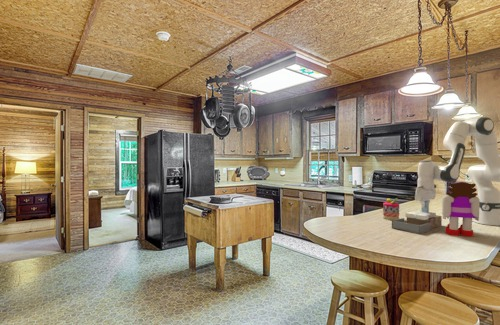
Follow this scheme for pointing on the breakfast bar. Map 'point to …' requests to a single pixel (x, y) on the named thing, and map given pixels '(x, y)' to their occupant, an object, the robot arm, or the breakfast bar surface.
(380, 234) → the breakfast bar surface
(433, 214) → the blue-knobbed white block
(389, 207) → the cake
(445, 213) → the toy
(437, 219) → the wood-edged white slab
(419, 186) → the robot arm
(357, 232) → the breakfast bar surface
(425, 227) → the tray
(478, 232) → the breakfast bar surface
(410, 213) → the tile
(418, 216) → the tile
